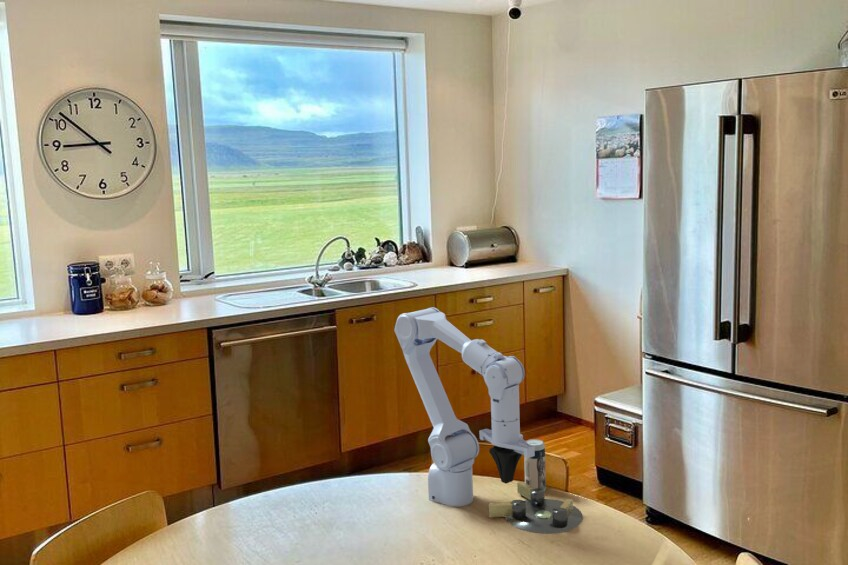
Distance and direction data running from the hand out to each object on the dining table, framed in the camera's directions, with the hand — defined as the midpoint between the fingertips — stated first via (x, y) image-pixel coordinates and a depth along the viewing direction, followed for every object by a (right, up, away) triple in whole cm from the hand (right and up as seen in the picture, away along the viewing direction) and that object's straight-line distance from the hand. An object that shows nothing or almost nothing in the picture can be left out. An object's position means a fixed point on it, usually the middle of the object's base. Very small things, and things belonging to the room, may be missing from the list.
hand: (507, 481), depth 156 cm
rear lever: (+6, -6, +9) cm, 13 cm away
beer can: (+8, -7, +16) cm, 19 cm away
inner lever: (0, -8, +2) cm, 8 cm away
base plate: (+8, -9, +2) cm, 12 cm away
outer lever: (+12, -8, 0) cm, 14 cm away
